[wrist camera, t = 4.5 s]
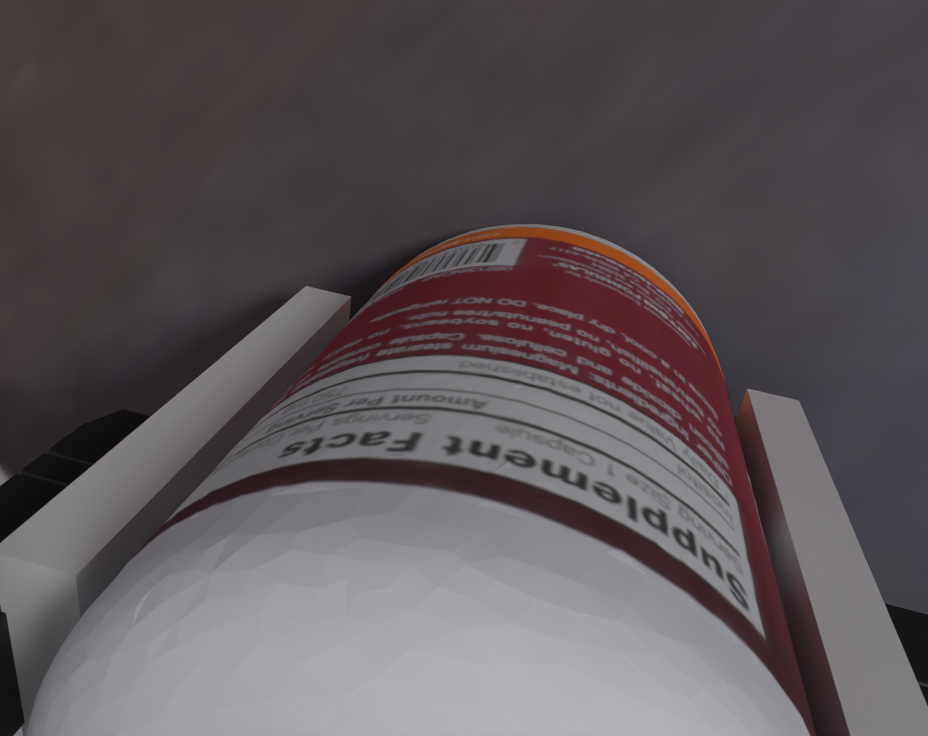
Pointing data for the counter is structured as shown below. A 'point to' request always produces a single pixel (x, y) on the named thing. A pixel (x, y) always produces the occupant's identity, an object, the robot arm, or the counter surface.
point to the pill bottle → (462, 530)
